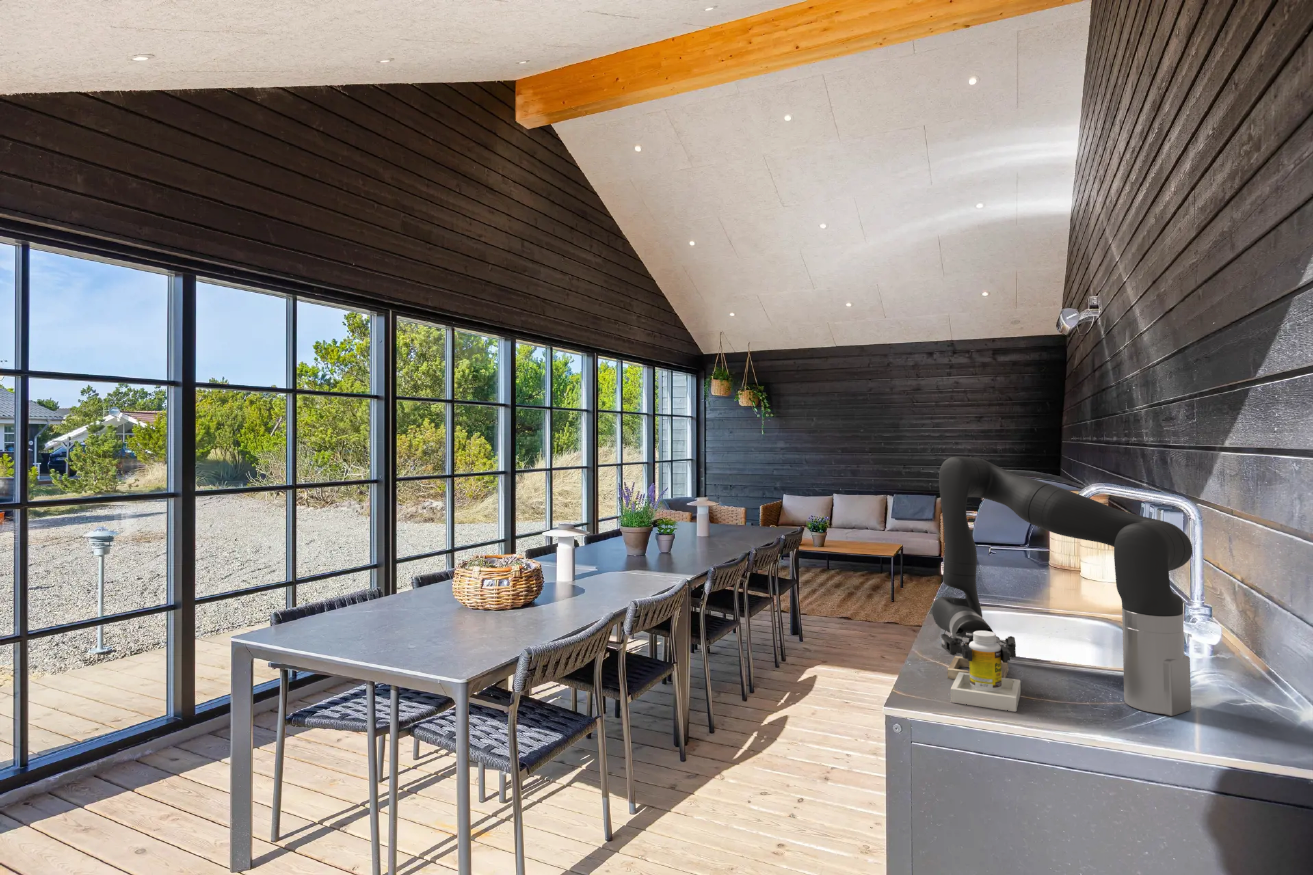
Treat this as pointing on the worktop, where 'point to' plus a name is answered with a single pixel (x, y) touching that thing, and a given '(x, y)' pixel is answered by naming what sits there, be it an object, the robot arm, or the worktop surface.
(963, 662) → the square wooden frame
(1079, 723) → the worktop surface
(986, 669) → the supplement bottle
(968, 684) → the parts tray
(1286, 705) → the worktop surface
